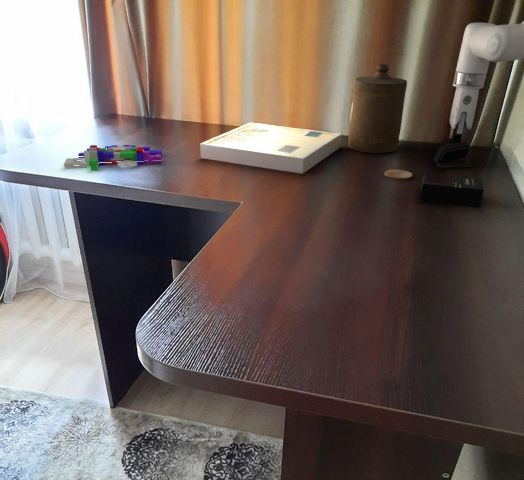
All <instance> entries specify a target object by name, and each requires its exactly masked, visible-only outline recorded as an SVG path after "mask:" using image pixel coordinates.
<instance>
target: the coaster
mask: <svg viewBox="0 0 524 480" xmlns="http://www.w3.org/2000/svg"><path fill="white" fill-rule="evenodd" d="M383 174H384V175H383V176H385V177H386V178H389V179H394V180H408V179H411V178H413V173H412V172H410V171H408V170H404V169H387V170H385V171H384V173H383Z"/></svg>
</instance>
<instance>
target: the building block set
mask: <svg viewBox="0 0 524 480" xmlns="http://www.w3.org/2000/svg"><path fill="white" fill-rule="evenodd" d="M106 148H107V150H106ZM150 148H151V147H150V146H144V145H138V146H136V145H133V144H131V145H130V144H123V145H118V144H115V145H113V144H111V145H107V146H104V147H98V145H97V144H91V145H89V148H86V150H83V152H79V153H78V156H84V157H70V158H69V157H68V158H66V159H65V160H64V162H63V166H64V169H83V168H85V169H86V168H87V167H89V168H90V171H91V172H94V171H95V172H96V171H97V172H98V170H99V167H100V166H117V167H118V168H120V169H123V170H130V169H134V168H136V167H138V166H142V165H146V164H148V165H149V164H162V163H163V162H162V161H154V160H162V157H163V152H162V150H161V149H153V150H151V149H150ZM156 154H161V155H156ZM77 160H82V161H77ZM144 160H145V161H144ZM146 160H148V161H146ZM152 160H153V161H152ZM116 161H121V162H116ZM135 161H144V162H135ZM99 162H112V163H99ZM85 163H86V164H85ZM98 163H99V164H98ZM135 163H137V164H135ZM118 164H120V165H118ZM133 164H135V165H133ZM74 165H79V166H74ZM121 165H123V166H127V167H123V166H121ZM130 165H133V166H130ZM97 166H98V167H97Z"/></svg>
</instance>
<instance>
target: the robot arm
mask: <svg viewBox="0 0 524 480" xmlns="http://www.w3.org/2000/svg"><path fill="white" fill-rule="evenodd" d="M523 59H524V20H523V21H522V22H521V23H509V24H497V25H496V24H495V23H491V22H490V23H489V22H470V23H469V24H467V25H466V27H465V30H464V33H463V37H462V41H461V46H460V50H459V55H458V59H457V64H456V68H455V72H454V78H453V81H452V86H453V87H456V88H455V91H454V96H453V101H452V104H451V105H452V106H451V110H450V114H449V115H450V116H449V124H450V127H451V128H450V133H449V137H448V140H447V144H446V145H450V144H456V143H462V139H463V136H464V132H465V127H466V129H467V131H471V130H472V128H473V122H474V120H475V119H474V118H475V113H476V109H477V104H478V99H479V93H480V89H483V88H484V87H485V86H484V85H485V81H486V79H487V73H488V70H489V67H490V62H492V63H504V62H510V61H518V60H519V61H520V60H523Z"/></svg>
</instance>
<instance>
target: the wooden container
mask: <svg viewBox="0 0 524 480" xmlns="http://www.w3.org/2000/svg"><path fill="white" fill-rule="evenodd" d="M389 70H390V67H389V65H387V63H380V64H379V65H377V66H376V72H375V74H374V75H371V76H370V75H369V76H368V75H367V76H359V77H358V76H357V77H356V78H355V79H354V83H353V85H354V86H353V93H352V94H353V95H352V103H351V109H350V118H349V128H348V129H349V130H348V140H347V147H348V148H350V149H351V150H354V151H356V152H361V153H366V154H387V153H392V152H395V151H397V150H398V148H399V140H400V135H401V129H402V123H403V122H402V121H403V113H404V105H405V99H406V92H407V86H408V80H406V79H403V78H399V77H392V76H390V75H389V73H388V72H389Z"/></svg>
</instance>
